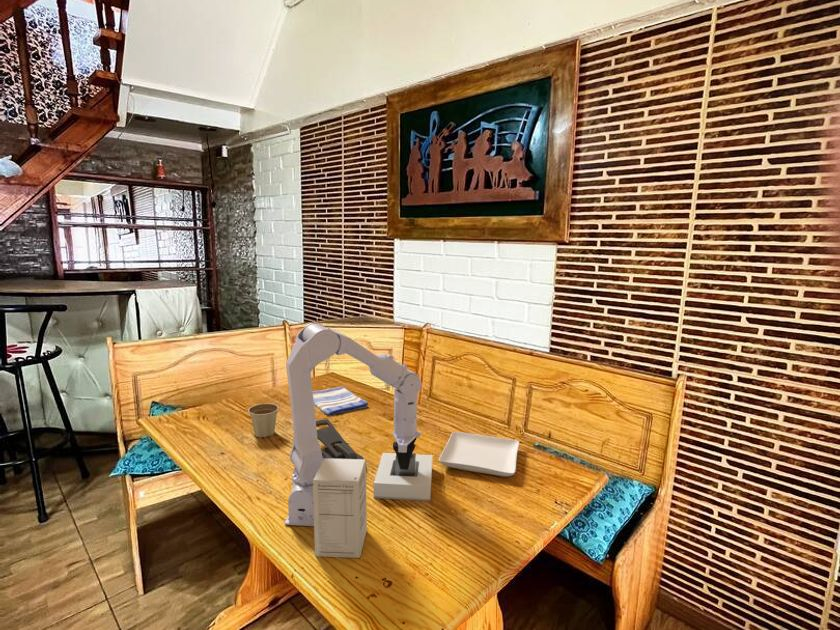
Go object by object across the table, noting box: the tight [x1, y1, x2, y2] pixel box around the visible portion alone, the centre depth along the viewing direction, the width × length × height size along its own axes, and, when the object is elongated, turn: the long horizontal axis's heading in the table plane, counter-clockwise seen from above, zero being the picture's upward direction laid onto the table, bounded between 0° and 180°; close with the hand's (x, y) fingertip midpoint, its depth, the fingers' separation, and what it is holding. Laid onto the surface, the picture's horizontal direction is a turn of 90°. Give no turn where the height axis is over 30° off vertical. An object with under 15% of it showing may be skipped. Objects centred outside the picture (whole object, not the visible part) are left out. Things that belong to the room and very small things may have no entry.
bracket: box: [395, 452, 417, 477], centre depth 118 cm, size 6×5×8 cm
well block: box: [373, 452, 433, 502], centre depth 118 cm, size 16×14×4 cm
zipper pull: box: [316, 418, 364, 459], centre depth 132 cm, size 9×7×25 cm
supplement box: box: [313, 458, 368, 559], centre depth 93 cm, size 10×9×17 cm
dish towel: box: [312, 385, 369, 416], centre depth 175 cm, size 17×24×3 cm
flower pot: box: [247, 402, 280, 438], centre depth 145 cm, size 9×9×9 cm
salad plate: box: [438, 431, 520, 477], centre depth 132 cm, size 21×21×3 cm
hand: (404, 465), depth 116 cm, fingers closed on bracket, 2 cm apart
